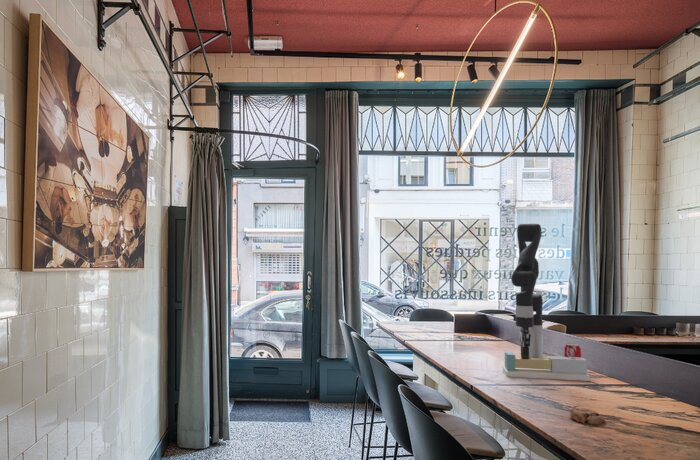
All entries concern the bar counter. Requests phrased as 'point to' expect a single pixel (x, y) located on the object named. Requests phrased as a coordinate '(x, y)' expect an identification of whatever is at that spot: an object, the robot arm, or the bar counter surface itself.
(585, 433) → the bar counter surface
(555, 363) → the steel sleeve
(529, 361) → the tan knobbed slider
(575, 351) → the soda can
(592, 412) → the cookie
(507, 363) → the socket
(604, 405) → the bar counter surface
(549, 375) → the board
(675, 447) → the bar counter surface
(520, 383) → the bar counter surface
